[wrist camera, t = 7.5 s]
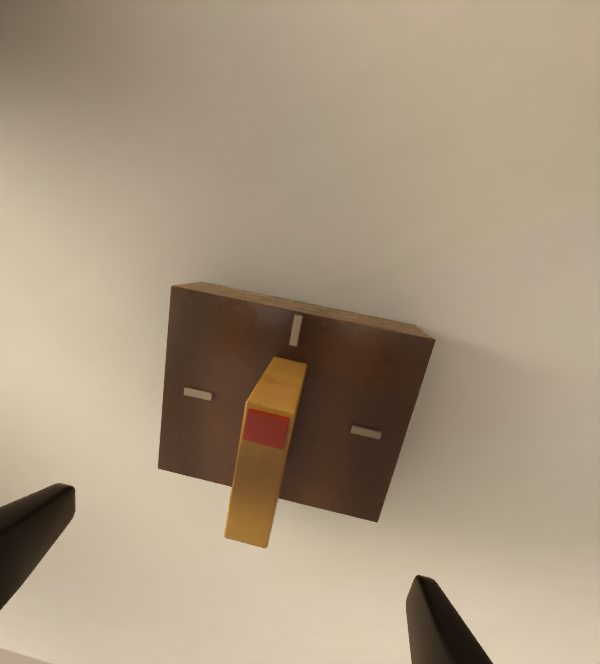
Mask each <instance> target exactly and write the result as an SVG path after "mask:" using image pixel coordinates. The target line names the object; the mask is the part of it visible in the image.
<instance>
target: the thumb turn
mask: <svg viewBox="0 0 600 664" xmlns="http://www.w3.org/2000/svg"><path fill="white" fill-rule="evenodd" d="M307 366H308V365H307V364H306V363H301V362H297V361H292V360H288V359H283V358H279V357H274V358H273V359H272V361H271V363H270V364H269V366H268V367H267V369H266V371H265V372H264V374H263V375H262V377H261V379H260V380H259V382H258V383H257V385H256V387H255V388H254V390H253V391H252V393H251V395H250V396H249V398H248V399H247V401H246V404H245V410H244V417H243V423H242V429H241V435H240V441H239V447H238V453H237V460H236V466H235V472H234V478H233V484H232V490H231V496H230V503H229V509H228V515H227V521H226V527H225V533H224V537H225V538H228V539H232V540H236V541H240V542H243V543H247V544H251V545H255V546H258V547H262V548H267V546H268V542H269V537H270V533H271V529H272V524H273V520H274V516H275V511H276V507H277V503H278V498H279V494H280V489H281V485H282V481H283V476H284V472H285V468H286V463H287V459H288V454H289V449H290V445H291V440H292V435H293V431H294V426H295V421H296V417H297V412H298V407H299V403H300V398H301V393H302V389H303V384H304V380H305V375H306V370H307Z"/></svg>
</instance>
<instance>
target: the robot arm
mask: <svg viewBox="0 0 600 664" xmlns="http://www.w3.org/2000/svg"><path fill="white" fill-rule="evenodd" d="M74 513H75V488H74V487H73V486H70V485H67V484H63V483H57V484H54V485H51V486H49V487H47V488H44V489H42V490H40V491H37V492H35V493H33V494H30V495H28V496H26V497H23V498H21V499H19V500H16V501H14V502H12V503H9V504H7V505H5V506H2V507H0V610H1V609H2V608H3V606H4V605H5V604H6V603H7V602H8V601H9V600H10V598H11V597H12V596H13V595H14V594H15V593H16V591H17V590H18V589H19V588H20V587H21V585H22V584H23V583H24V582H25V580H26V579H27V578H28V576H29V575H30V574H31V573H32V571H33V570H34V569H35V567H36V566H37V565H38V563H39V562H40V561H41V559H42V558H43V557H44V556H45V554H46V553H47V552H48V550H49V549H50V548H51V546H52V545H53V544H54V542H55V541H56V540H57V538H58V537H59V536H60V535H61V533H62V532H63V531H64V529H65V528H66V527H67V525H68V524H69V523H70V521H71V520H72V518H73V516H74ZM406 614H407V623H408V633H409V642H410V651H411V661H412V664H493V663H492V661H491V660H490V658H489V657H488V656H487V654H486V653H485V651H484V650H483V648H482V647H481V646H480V644H479V643H478V641H477V640H476V638H475V637H474V635H473V634H472V633H471V631H470V630H469V628H468V627H467V625H466V624H465V623H464V621H463V620H462V618H461V617H460V615H459V614H458V612H457V611H456V610H455V608H454V607H453V605H452V604H451V602H450V601H449V600H448V598H447V597H446V595H445V594H444V592H443V591H442V590H441V588H440V587H439V585H438V584H437V583H436V581H435V580H433V579H432V578H429V577H425V576H421V575H417V576H416V577H415V578H414V581H413V583H412V586H411V588H410V591H409V594H408V596H407V600H406Z"/></svg>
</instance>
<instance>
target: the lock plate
mask: <svg viewBox="0 0 600 664" xmlns="http://www.w3.org/2000/svg"><path fill="white" fill-rule="evenodd" d="M434 343H435V339H434V338H432V337H431V336H429V335H428V334H427V333H425V332H424V331H423V330H421V329H420V328H418V327H417V326H416V325H411V324H406V323H402V322H397V321H392V320H387V319H382V318H377V317H372V316H367V315H362V314H357V313H352V312H347V311H342V310H337V309H332V308H327V307H322V306H317V305H312V304H307V303H302V302H298V301H293V300H288V299H283V298H278V297H273V296H268V295H263V294H258V293H253V292H248V291H243V290H238V289H233V288H228V287H223V286H218V285H213V284H208V283H203V282H197V283H189V284H182V285H174V286H171V295H170V309H169V323H168V337H167V350H166V364H165V378H164V392H163V405H162V419H161V433H160V447H159V460H158V469H162V470H166V471H170V472H174V473H178V474H182V475H186V476H190V477H194V478H199V479H203V480H207V481H211V482H215V483H219V484H223V485H227V486H231V487H232V484H233V478H234V472H235V466H236V460H237V453H238V447H239V441H240V435H241V429H242V423H243V417H244V410H245V404H246V401H247V399H248V398H249V396H250V395H251V393H252V391H253V390H254V388H255V387H256V385H257V383H258V382H259V380H260V379H261V377H262V375H263V374H264V372H265V371H266V369H267V367H268V366H269V364H270V363H271V361H272V359H273V358H274V357H279V358H283V359H288V360H292V361H297V362H301V363H306V364H307V365H308V366H307V370H306V375H305V380H304V384H303V389H302V393H301V398H300V403H299V407H298V412H297V417H296V421H295V426H294V431H293V435H292V440H291V445H290V449H289V454H288V459H287V463H286V468H285V472H284V476H283V481H282V485H281V489H280V494H279V498H280V499H284V500H288V501H292V502H296V503H300V504H304V505H308V506H312V507H316V508H320V509H324V510H328V511H333V512H337V513H341V514H345V515H349V516H353V517H357V518H361V519H365V520H369V521H373V522H378V520H379V517H380V513H381V510H382V507H383V504H384V501H385V498H386V494H387V491H388V488H389V485H390V482H391V479H392V476H393V472H394V469H395V466H396V463H397V460H398V457H399V453H400V450H401V447H402V444H403V441H404V438H405V435H406V431H407V428H408V425H409V422H410V419H411V416H412V412H413V409H414V406H415V403H416V400H417V397H418V394H419V390H420V387H421V384H422V381H423V378H424V375H425V371H426V368H427V365H428V362H429V359H430V356H431V353H432V349H433V346H434Z"/></svg>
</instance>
